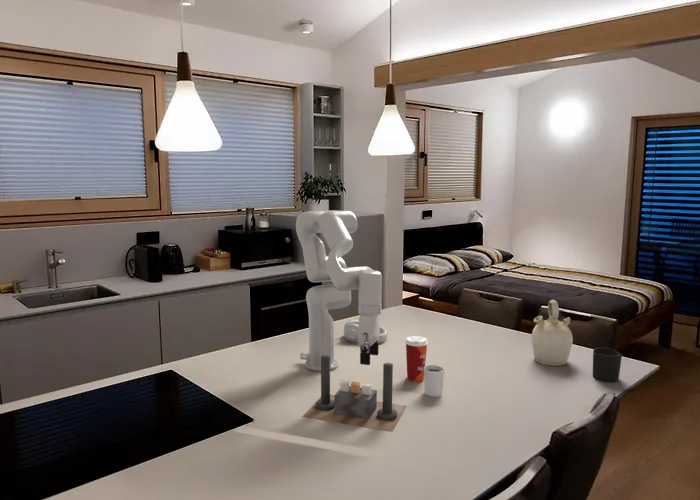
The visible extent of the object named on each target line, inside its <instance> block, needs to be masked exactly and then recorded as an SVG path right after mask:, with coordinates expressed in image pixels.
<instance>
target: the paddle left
mask: <svg viewBox="0 0 700 500" xmlns="http://www.w3.org/2000/svg"><path fill="white" fill-rule="evenodd" d="M349 386H350V381H349V380H345V379H341V380H340V382H339V390H340V389H341V391H345V392H348V391H349Z"/></svg>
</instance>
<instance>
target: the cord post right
mask: <svg viewBox="0 0 700 500" xmlns="http://www.w3.org/2000/svg"><path fill="white" fill-rule="evenodd" d="M382 367H383V368H382V369H383V372H382V373H383V375H382V402H383V408H382V409H379V410H378V411H377V417H378V418H379V419H381V420H385V421H391V420H395V419H396V418H397V411H396V410H394V409H392V404H393V383H394V382H393V378H394V375H393V373H394V370H393V369H394V364H393V363H391V362H385V363H383V366H382Z"/></svg>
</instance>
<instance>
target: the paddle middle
mask: <svg viewBox="0 0 700 500" xmlns="http://www.w3.org/2000/svg"><path fill="white" fill-rule="evenodd" d="M360 384H361V383H360V382H358V381H351V383H350V386H351V392H352V393H358V394H359V392H360V388H361V385H360Z"/></svg>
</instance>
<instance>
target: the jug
mask: <svg viewBox="0 0 700 500" xmlns="http://www.w3.org/2000/svg"><path fill="white" fill-rule="evenodd" d="M547 306H548V307H547V312H548V319H545V320H544V319H543V318H544V317H543V316H542V315H538V316H536V317H534V319H533V322H534V323H535V326H534V328H533V330H532V331H531V332H532V333H531V344H532V350H533V352H532V354H533V356H534V358H533V359H534V360H535V361H536V362H537V363H539V364H542V365H546V366H555V367H556V366H557V367H558V366H564V365H566V364H567V363H568V359H569V356H570V353H571V352H572V351H571V350H572V347H573V346H572V345H573V343H574V340H573V333H572V331H571V329H570V327H569V325H570V324H571V323H570V322H571V317H569V316H568V317H566V318H563V320H562V321H560V320H559V319H558V318H559V315H560V313H559V311H560V309H559V303H558V301H557V300H555V299H551V300H549V302H548V305H547Z"/></svg>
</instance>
